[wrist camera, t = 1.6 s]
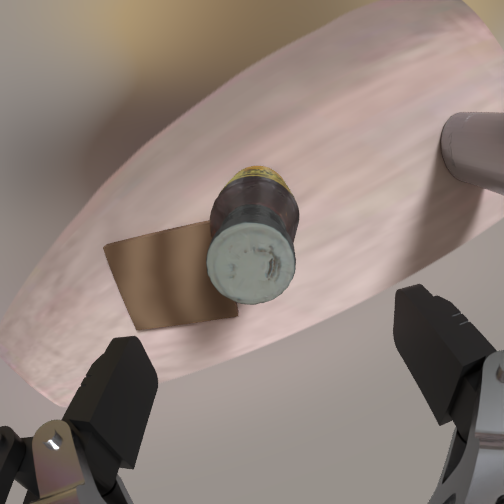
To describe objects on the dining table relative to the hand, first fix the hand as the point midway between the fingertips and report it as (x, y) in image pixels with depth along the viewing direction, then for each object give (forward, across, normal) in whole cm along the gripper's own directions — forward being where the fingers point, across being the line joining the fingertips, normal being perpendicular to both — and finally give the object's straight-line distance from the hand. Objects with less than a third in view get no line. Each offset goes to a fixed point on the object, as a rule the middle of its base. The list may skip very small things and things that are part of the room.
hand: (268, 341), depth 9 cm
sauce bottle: (+25, 0, 0) cm, 25 cm away
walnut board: (+25, +12, +8) cm, 29 cm away
